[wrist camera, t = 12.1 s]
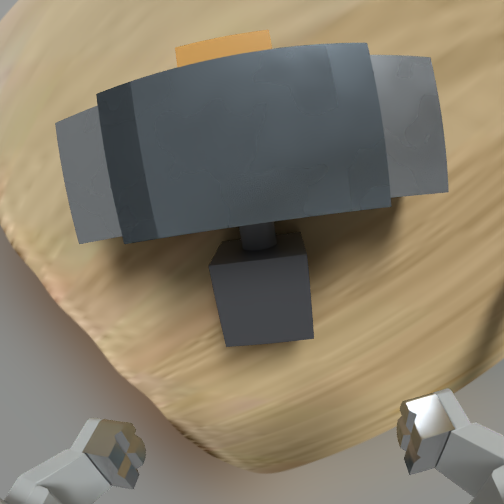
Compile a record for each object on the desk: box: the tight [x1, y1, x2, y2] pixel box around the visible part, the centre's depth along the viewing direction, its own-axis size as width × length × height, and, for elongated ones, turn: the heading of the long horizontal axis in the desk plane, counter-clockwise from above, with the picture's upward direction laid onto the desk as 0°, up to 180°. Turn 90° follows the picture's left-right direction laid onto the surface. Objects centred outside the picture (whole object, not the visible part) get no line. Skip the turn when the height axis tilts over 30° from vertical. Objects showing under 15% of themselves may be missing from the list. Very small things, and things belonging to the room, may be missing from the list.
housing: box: [55, 43, 448, 244], centre depth 13 cm, size 17×6×7 cm, turn 99°
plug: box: [175, 30, 314, 347], centre depth 15 cm, size 4×14×4 cm, turn 9°
